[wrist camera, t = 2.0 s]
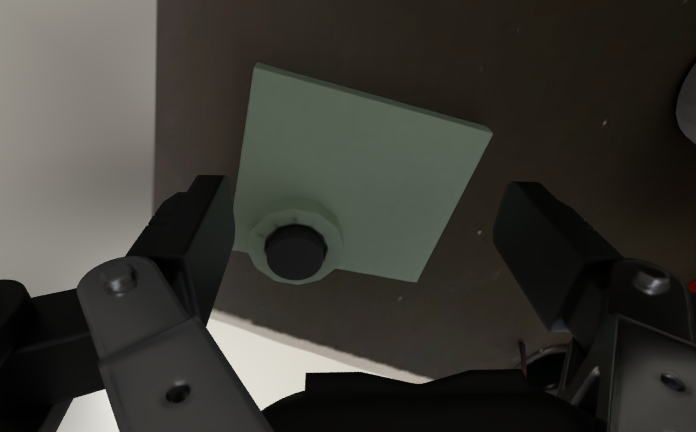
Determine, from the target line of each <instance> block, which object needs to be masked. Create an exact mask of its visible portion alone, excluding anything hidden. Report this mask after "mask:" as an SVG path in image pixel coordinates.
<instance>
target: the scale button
mask: <svg viewBox="0 0 696 432" xmlns="http://www.w3.org/2000/svg"><path fill="white" fill-rule="evenodd" d="M267 263H268V266H269V268H270V269H271V270H272V272H274V273H275V274H276V275H277V276H279V277H281V278H284V279H287V280H304V279H307V278H310V277H312V276H313V275H315V274H316V273H317V272H318V271H319V270H320V268H321V267H322V264H323V242H322V239H321V237H320V236H319V235H318V234H317V233H316V232H315V231H314V230H313V229H311V228H309V227H306V226H303V225H288V226H285V227H282V228H280V229H278V230H277V231H276V232H275V233H274V234H273V235H272V236H271V238H270V241H269V246H268V251H267Z"/></svg>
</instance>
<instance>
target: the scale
mask: <svg viewBox="0 0 696 432" xmlns="http://www.w3.org/2000/svg"><path fill="white" fill-rule="evenodd" d="M492 135H493V133H492V132H491V131H490V130H489V129H488V128H487V127H486V126H483V125H480V124H476V123H472V122H469V121H465V120H462V119H458V118H455V117H451V116H447V115H444V114H440V113H437V112H433V111H430V110H426V109H422V108H419V107H415V106H412V105H408V104H405V103H401V102H397V101H394V100H390V99H387V98H383V97H380V96H376V95H373V94H369V93H365V92H362V91H358V90H355V89H351V88H348V87H344V86H340V85H337V84H333V83H330V82H326V81H323V80H319V79H315V78H312V77H308V76H305V75H301V74H298V73H294V72H290V71H287V70H283V69H280V68H276V67H273V66H269V65H265V64H262V63H257V64H256V65H255V67H254V69H253V76H252V83H251V90H250V96H249V103H248V110H247V117H246V124H245V131H244V137H243V144H242V151H241V158H240V165H239V172H238V178H237V185H236V192H235V199H234V206H233V212H234V220H235V240H234V245H233V248H232V250H234V251H240V252H245V253H248V254H249V256H250V257H251V259H252V261H253V263H254V265H255V267H256V269H258V270H259V271H261V272H262V273H264V274H265V275H267V276H269V277H270V278H272V279H273V280H275V281H278V282H284V283H291V284H297V285H298V284H299V285H300V284H304V283H309V282H313V281H318V280H321V279H322V278H324V277H325V276H326V275H327V274H329V273H330V272H331V271H332V270H334V269H335V268H336V269H342V270H348V271H353V272H359V273H365V274H370V275H376V276H382V277H387V278H393V279H399V280H404V281H410V282H417V280H418V278H419V276H420V275H421V273H422V271H423V269H424V267H425V265H426V263H427V261H428V259H429V257H430V255H431V253H432V251H433V249H434V247H435V245H436V243H437V242H438V240H439V238H440V236H441V234H442V232H443V230H444V228H445V226H446V224H447V222H448V220H449V218H450V216H451V214H452V212H453V211H454V209H455V207H456V205H457V203H458V201H459V199H460V197H461V195H462V193H463V191H464V189H465V187H466V185H467V183H468V181H469V180H470V178H471V176H472V174H473V172H474V170H475V168H476V166H477V164H478V162H479V160H480V158H481V156H482V154H483V152H484V150H485V148H486V147H487V145H488V143H489V141H490V139H491V137H492ZM288 225H303V226H306V227H309V228H311V229H313V230H314V231H315V232H316V233H317V234H318V235H319V236H320V237H321V239H322V242H323V264H322V267H321V268H320V270H319V271H318V272H317V273H316V274H315V275H313V276H312V277H310V278H307V279H304V280H287V279H284V278H281V277H279V276H277V275H276V274H275V273H274V272H272V270H271V269H270V268H269V266H268V263H267V251H268V246H269V241H270V238H271V236H272V235H273V234H274V233H275V232H276V231H277V230H278V229H280V228H282V227H285V226H288Z"/></svg>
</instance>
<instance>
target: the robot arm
mask: <svg viewBox="0 0 696 432" xmlns="http://www.w3.org/2000/svg"><path fill="white" fill-rule="evenodd" d="M234 240H235V220H234V212H233V205H232V198H231V191H230V184H229V180H228V177H227V176H224V175H198V176H197V177H196V178H195V180H194V182H193V183H192V185H191V186H190V188H189V190H188V191H187V192H178V193H176V194H175V195H173V196H172V197H170V198H169V199H167V200H166V201H164V202H163V203H162V204H161V206H160V207H159V209H158V210H157V212H156V213H155V216H153V217H152V219H151V220H150V222H149V225H148V226H146V227H145V229H144V230H143V232H142V233H141V234H140V236H139V237H138V239H137V240H136V241H135V243H134V244H133V246H132V247H131V249H130V250H129V251H128V253H127V254H126V256H125V257H121V258H116V259H113V260H110V261H107V262H105V263H103V264H100V265H99V266H97V267H95V268H93V269H92V270H90V271H89V272H88V273H87V274H86V275H85V276H84V277H83V278H82V279H81V281H80V282H79V284H78V286H77V288H75V289H71V290H67V291H62V292H57V293H52V294H47V295H42V296H38V297H33V298H31V297H30V295H29V293H28V292H27V290H26V288H25V287H24V285H23V284H21V283H20V282H18V281H14V280H0V432H56V431H57V429H58V427H59V425H60V423H61V421H62V419H63V417H64V416H65V414H66V412H67V410H68V408H69V406H70V404H71V402H72V400H73V398H76V397H79V396H83V395H86V394H90V393H93V392H96V391H99V390H103V389H106V392H107V395H108V398H109V401H110V404H111V407H112V410H113V413H114V416H115V419H116V422H117V425H118V428H119V431H120V432H696V292H691V291H689V288H688V287H687V285H686V284H685V283H684V282H683V281H682V280H681V279H680V278H679V277H677V276H676V275H675V274H673V273H672V272H670V271H668V270H667V269H665V268H663V267H661V266H658V265H656V264H653V263H651V262H648V261H644V260H640V259H633V258H624V257H623V256H622V255H621V254H620V253H619V252H618V251H617V250H616V249H615V248H613V247H612V246H611V245H610V244H609V243H608V242H607V241H606V240H605V239H604V238H603V237H602V236H601V235H600V234H599V233H598V232H597V231H593V228H592V227H591V226H590V225H589V224H588V223H587V222H584V219H583V218H582V217H581V216H580V215H579V214H578V213H577V212H576V211H575V210H573V209H572V208H571V207H569V206H567V205H565V204H564V203H562V202H560V201H558V200H557V199H556V198H555V197H554V196H553V195H552V194H551V193H550V192H549V191H548V190H547V189H546V188H545V187H544V186H543V185H542V184H540V183H539V182H510V183H509V184H508V185H507V187H506V189H505V192H504V195H503V198H502V201H501V204H500V208H499V211H498V214H497V217H496V220H495V224H494V227H493V241H494V244H495V247H496V248H497V250H498V252H499V253H500V255H501V257H502V258H503V260H504V261H505V263H506V265H507V266H508V268H509V269H510V271H511V273H512V274H513V276H514V277H515V279H516V281H517V282H518V284H519V285H520V287H521V289H522V290H523V292H524V293H525V295H526V297H527V298H528V300H529V301H530V303H531V305H532V306H533V308H534V309H535V311H536V313H537V314H538V316H539V317H540V319H541V321H542V322H543V324H544V325H545V327H546V329H547V330H548V332H571V334H572V335H573V337H572V339H571V341H570V343H569V344H568V347H567V352H566V356H565V361H564V365H563V370H562V375H561V379H560V384H559V388H558V393H557V397H556V396H554V395H552V394H549V393H547V392H543V391H540V390H537V389H534V388H531V387H530V385H529V383H528V381H527V379H526V377H525V375H524V373H523V371H522V369H501V370H469V371H465V372H462V373H458V374H455V375H451V376H448V377H444V378H441V379H437V380H434V381H430V382H427V383H423V384H414V383H409V382H404V381H400V380H395V379H390V378H386V377H381V376H377V375H372V374H368V373H363V372H334V373H333V372H330V373H306V380H305V391H302V392H298V393H295V394H292V395H290V396H287V397H285V398H282V399H280V400H279V401H277V402H275V403H273V404H271V405H270V406H268V407H266V408H265V409H264V410H262V411H260V409H259V408H258V406H257V405H256V403H255V402H254V400H253V399H252V397H251V396H250V394H249V392H248V391H247V389H246V388H245V386H244V385H243V383H242V382H241V380H240V379H239V377H238V376H237V374H236V373H235V371H234V370H233V368H232V366H231V365H230V364H229V362H228V360H227V359H226V357H225V356H224V354H223V353H222V351H221V350H220V348H219V347H218V345H217V344H216V342H215V341H214V339H213V337H212V336H211V334H210V333H209V331H208V330H207V328H206V326H207V323H208V320H209V317H210V314H211V311H212V308H213V305H214V302H215V299H216V296H217V293H218V290H219V287H220V284H221V281H222V278H223V275H224V272H225V269H226V266H227V263H228V260H229V257H230V254H231V251H232V248H233V245H234Z"/></svg>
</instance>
